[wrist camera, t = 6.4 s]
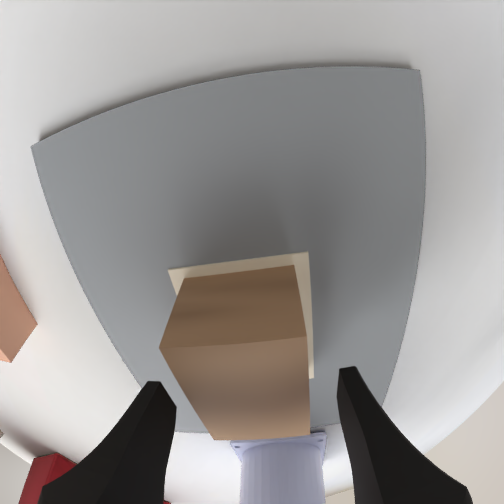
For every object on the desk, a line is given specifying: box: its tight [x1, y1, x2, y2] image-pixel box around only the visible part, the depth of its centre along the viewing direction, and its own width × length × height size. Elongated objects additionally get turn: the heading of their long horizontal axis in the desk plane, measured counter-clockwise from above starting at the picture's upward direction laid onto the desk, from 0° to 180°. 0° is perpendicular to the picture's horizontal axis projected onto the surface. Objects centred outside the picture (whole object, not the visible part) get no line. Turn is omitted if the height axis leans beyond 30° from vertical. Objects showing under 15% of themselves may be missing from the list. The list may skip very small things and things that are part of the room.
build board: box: [31, 66, 426, 433], centre depth 14 cm, size 22×16×1 cm
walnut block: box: [159, 265, 310, 440], centre depth 12 cm, size 7×5×4 cm, turn 9°
